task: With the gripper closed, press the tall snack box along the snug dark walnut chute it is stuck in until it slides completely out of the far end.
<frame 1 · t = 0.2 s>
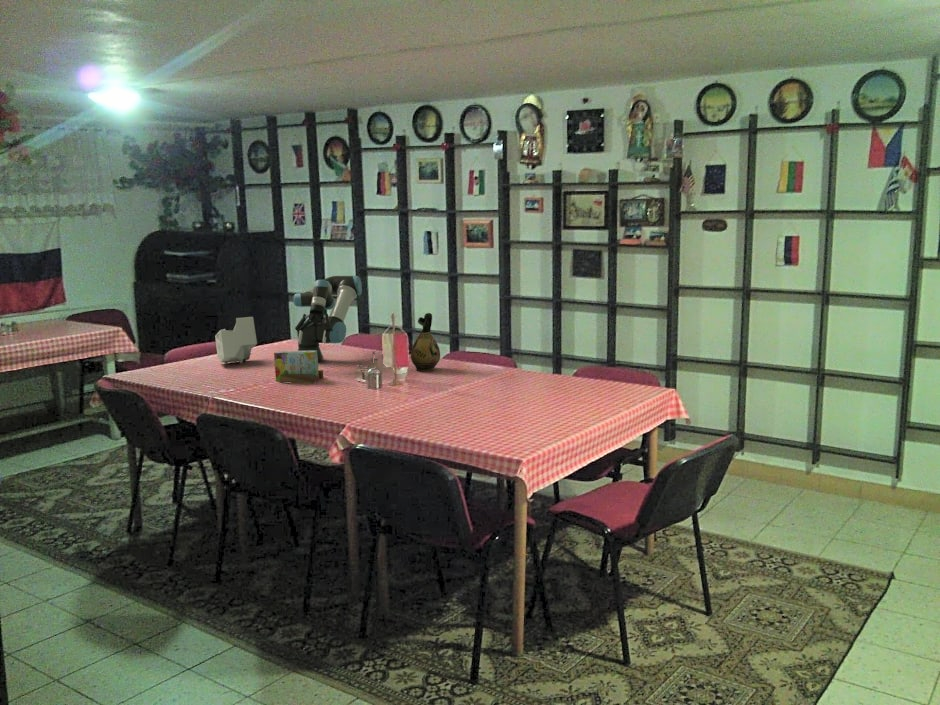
hand: (311, 342, 444), 16 cm above the table, tool tilted 35°, fingers open, 13 cm apart
ceramic jug: (426, 370, 444), on the table
walnut chute: (302, 380, 426), on the table
grey stepped block: (236, 363, 478), on the table
snack box: (297, 380, 426), on the table
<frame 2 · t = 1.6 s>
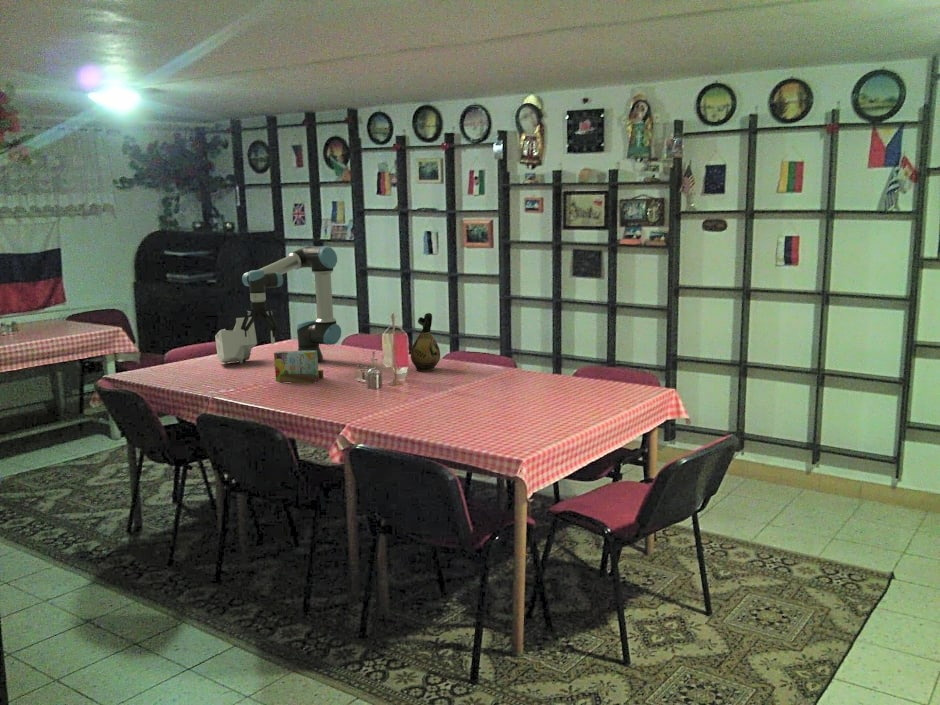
hand: (261, 343, 426), 19 cm above the table, tool pointing down, fingers open, 12 cm apart
nothing on the table moved.
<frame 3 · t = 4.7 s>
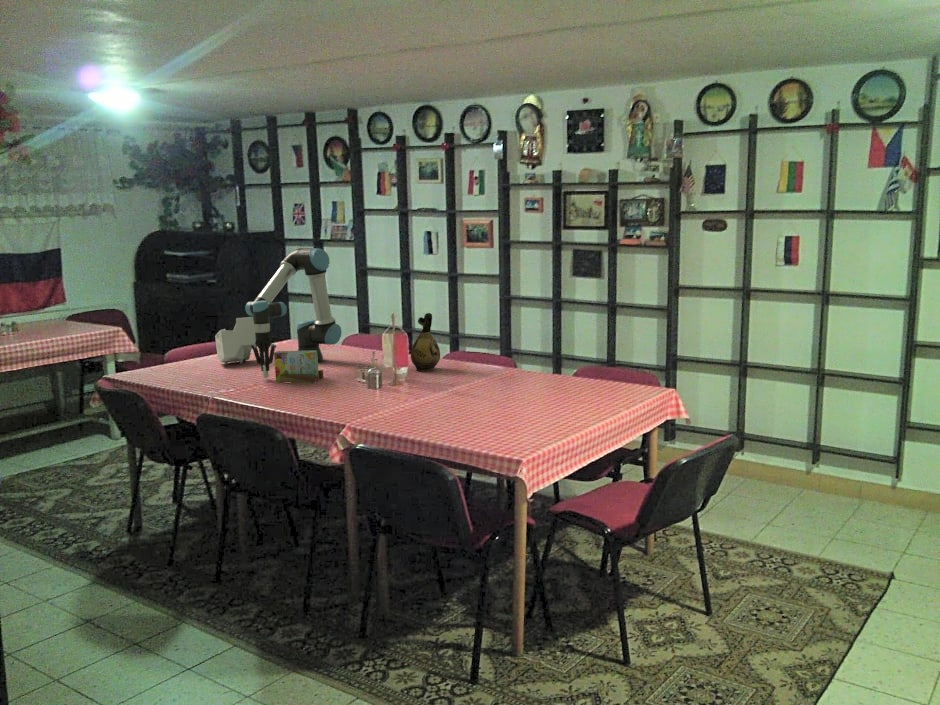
hand: (265, 377, 429), 1 cm above the table, tool pointing down, fingers closed
nothing on the table moved.
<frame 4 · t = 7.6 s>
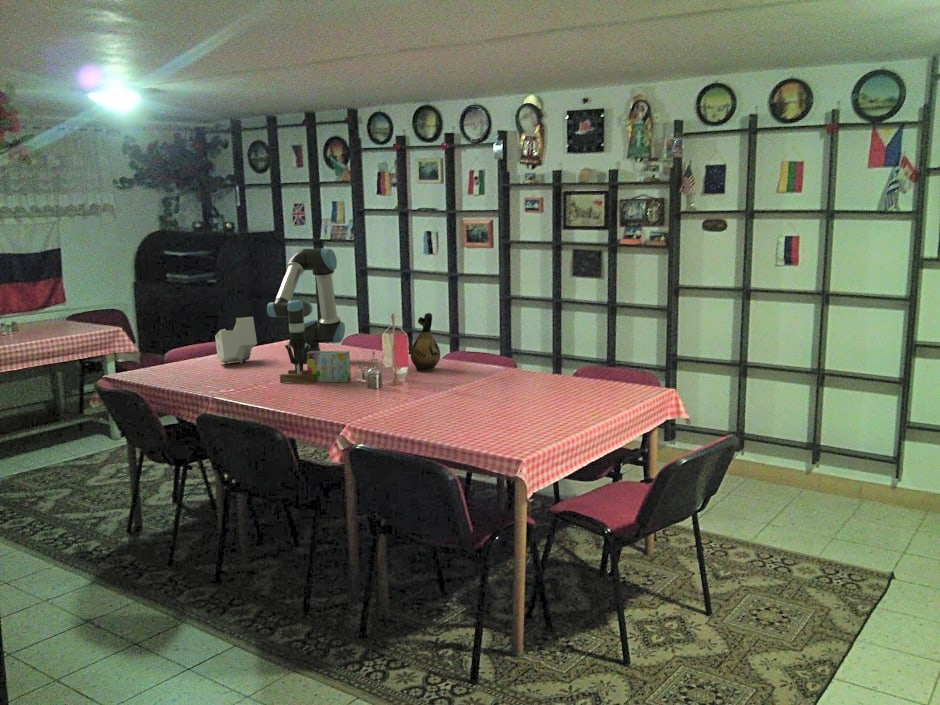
hand: (299, 377, 426), 2 cm above the table, tool pointing down, fingers closed
snack box: (329, 381, 422), on the table, touching hand
everything else where it was.
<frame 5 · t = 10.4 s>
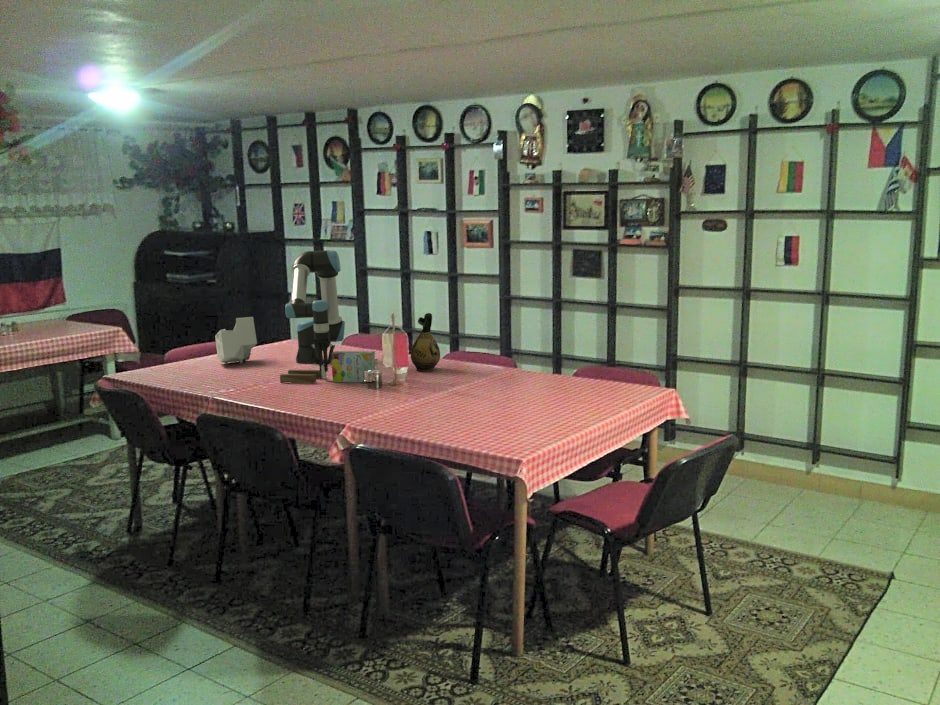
hand: (324, 377, 423), 1 cm above the table, tool pointing down, fingers closed
snack box: (354, 381, 420), on the table, touching hand
everything else where it was.
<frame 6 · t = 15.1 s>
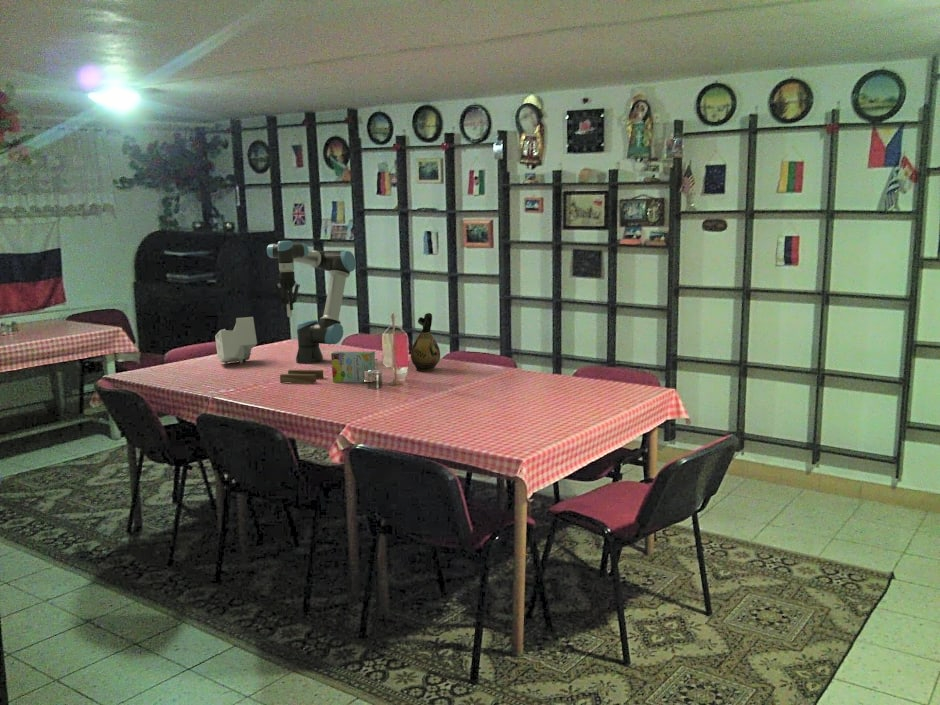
hand: (289, 316, 438), 30 cm above the table, tool pointing down, fingers closed
snack box: (354, 382, 420), on the table
everything else where it was.
at the end: snack box inside the target area (2.5 cm from its centre), on the table; snack box tilted 0°; snack box touching table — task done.
